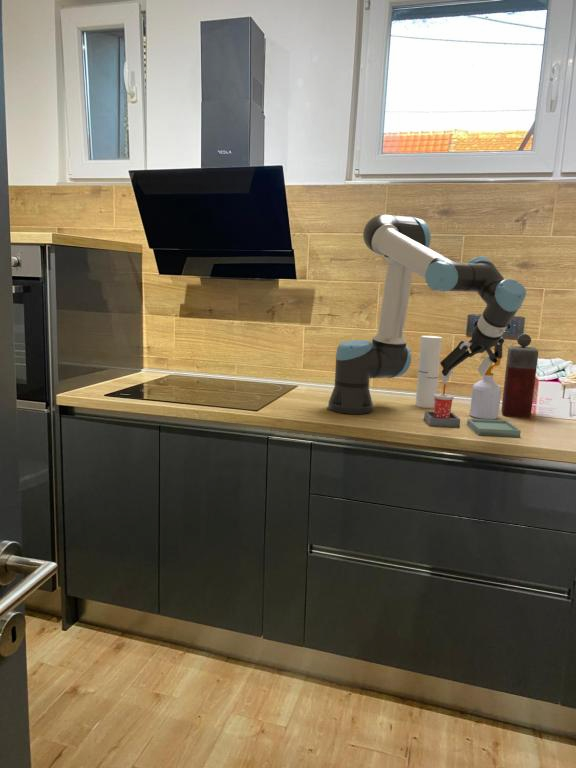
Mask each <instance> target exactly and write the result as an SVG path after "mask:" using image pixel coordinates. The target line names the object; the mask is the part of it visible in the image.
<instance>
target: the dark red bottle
mask: <svg viewBox="0 0 576 768" xmlns="http://www.w3.org/2000/svg"><path fill="white" fill-rule="evenodd" d="M516 342H517V344H518V345H509V346H508V348H507V357H506V365H505V374H504V375H505V376H504V385H503V391H502V392H503V393H502V400H501V402H502V404H501V416H504V417H509V418H510V417H512V418H521V419H522V418H523V419H531V417H532V411H533V410H532V409H533V400H534V392H535V391H534V390H535V383H536V377H537V376H536V375H537V367H538V360H539V350H538V349H537V348H536V347H534V346H530V344H531V343H532V338H531V336H530V335H529V334H527V333H521V334H520V335H518V337H517V340H516Z"/></svg>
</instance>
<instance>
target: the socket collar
mask: <svg viewBox="0 0 576 768" xmlns="http://www.w3.org/2000/svg"><path fill="white" fill-rule="evenodd" d="M423 419H424V421H425V422H426V423H427V425H428V426H429V427H447V428H460V427H461V419H460V417H458V416H457V415H456V414H455V413H454V412H450V418H434V411H428V410H427V411H426V410H425V411H424V413H423Z"/></svg>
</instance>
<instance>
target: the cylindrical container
mask: <svg viewBox="0 0 576 768" xmlns="http://www.w3.org/2000/svg"><path fill="white" fill-rule="evenodd" d="M442 340H443V337H441V336H436V335H421V336H420V346H419V347H420V348H419V357H418V358H419V359H418V371H417V384H416V396H415V406H416V407H418V408H424V409H434V401H435V398H434V394H438V387H439V384H438V383H439V377H440V376H439V375H440V374H439V373H440V366H441V364H440V362H441V353H442V352H441V351H442Z"/></svg>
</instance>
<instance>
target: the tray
mask: <svg viewBox="0 0 576 768" xmlns="http://www.w3.org/2000/svg"><path fill="white" fill-rule="evenodd" d="M466 425H467V426H468V427H469V428H470V429H471V431H473V432H475V434H477V436H485V437H486V436H488V437H490V436H491V437H508V438H509V437H510V438H520V437H521V429H519V428H518V427H516V426H515V425H513V423H511V422H510V421H508V420H502V419H491V420H488V419H479V418H467V421H466Z"/></svg>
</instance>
